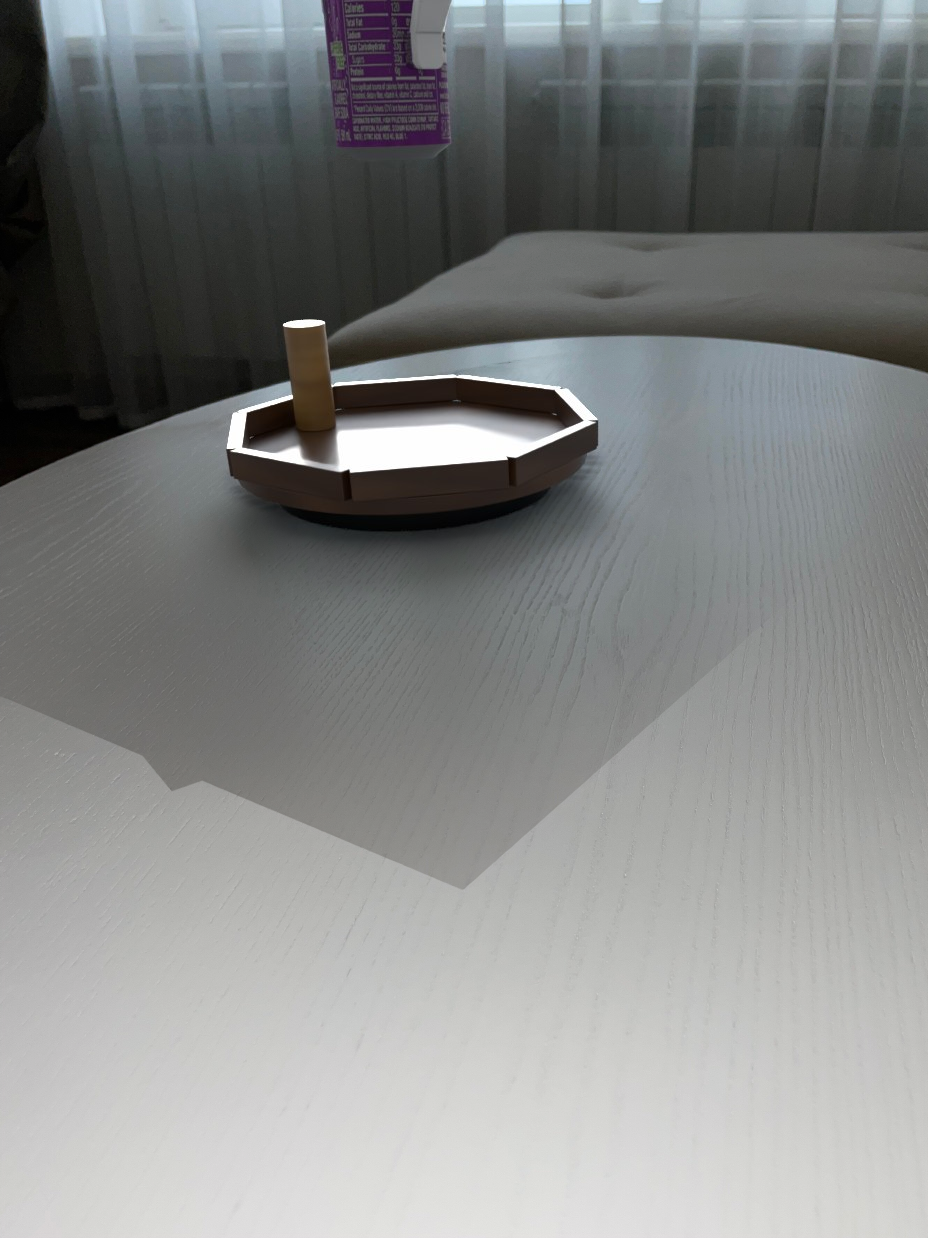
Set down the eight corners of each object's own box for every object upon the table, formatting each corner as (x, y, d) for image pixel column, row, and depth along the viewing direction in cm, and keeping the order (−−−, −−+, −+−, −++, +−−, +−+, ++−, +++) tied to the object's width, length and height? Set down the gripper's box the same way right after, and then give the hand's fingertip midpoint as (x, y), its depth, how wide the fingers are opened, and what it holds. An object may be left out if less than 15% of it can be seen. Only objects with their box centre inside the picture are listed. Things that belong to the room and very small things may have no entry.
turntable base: (232, 481, 66) (228, 456, 65) (457, 433, 74) (455, 411, 73) (359, 555, 54) (356, 526, 54) (609, 489, 62) (609, 463, 62)
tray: (649, 438, 66) (653, 317, 62) (443, 541, 51) (433, 391, 48) (392, 401, 76) (383, 295, 72) (160, 478, 61) (135, 351, 58)
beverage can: (405, 155, 73) (389, -63, 67) (475, 156, 69) (464, -78, 63) (315, 161, 69) (290, -71, 63) (383, 163, 64) (363, -88, 59)
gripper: (234, -188, 65) (267, 79, 72) (413, -280, 51) (434, 65, 58) (329, -177, 69) (352, 77, 75) (523, -261, 54) (531, 64, 61)
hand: (389, 72), depth 66 cm, fingers closed on beverage can, 7 cm apart
